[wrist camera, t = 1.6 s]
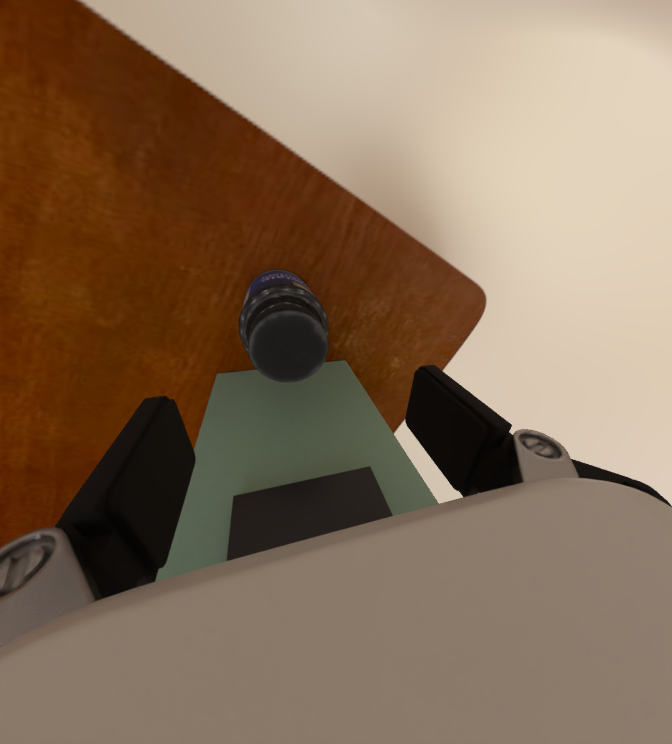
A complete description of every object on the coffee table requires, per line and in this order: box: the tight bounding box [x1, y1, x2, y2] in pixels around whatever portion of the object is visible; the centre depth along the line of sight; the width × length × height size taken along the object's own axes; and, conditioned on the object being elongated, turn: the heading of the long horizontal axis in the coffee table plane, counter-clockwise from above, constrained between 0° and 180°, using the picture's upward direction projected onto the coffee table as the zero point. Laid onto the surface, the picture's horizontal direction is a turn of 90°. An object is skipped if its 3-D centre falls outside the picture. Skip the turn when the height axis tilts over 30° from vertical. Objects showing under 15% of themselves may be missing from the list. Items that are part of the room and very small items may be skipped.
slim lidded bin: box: [155, 360, 439, 582], centre depth 19 cm, size 9×15×24 cm, turn 89°
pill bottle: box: [239, 269, 329, 383], centre depth 19 cm, size 6×6×11 cm
